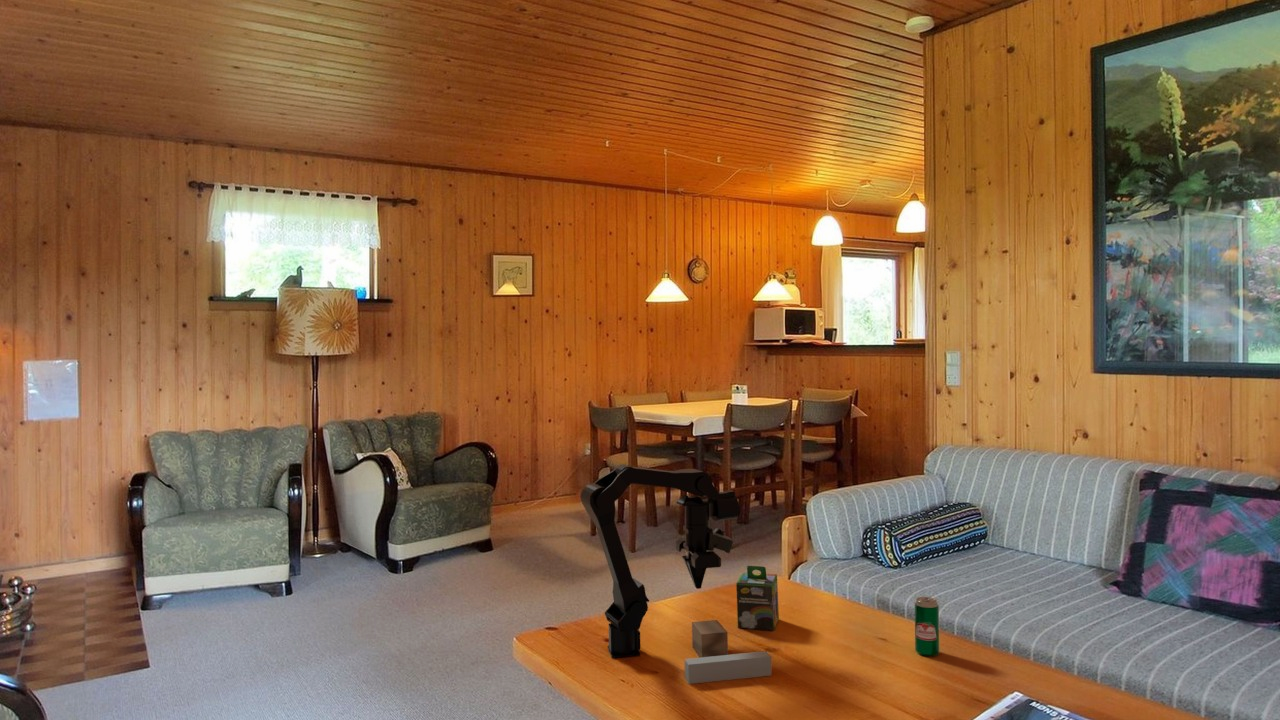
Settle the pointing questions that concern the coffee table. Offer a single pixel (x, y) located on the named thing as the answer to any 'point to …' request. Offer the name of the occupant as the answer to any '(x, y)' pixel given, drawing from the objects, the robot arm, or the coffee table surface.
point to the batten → (727, 667)
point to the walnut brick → (709, 638)
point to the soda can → (927, 626)
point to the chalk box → (757, 599)
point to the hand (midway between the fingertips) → (698, 588)
